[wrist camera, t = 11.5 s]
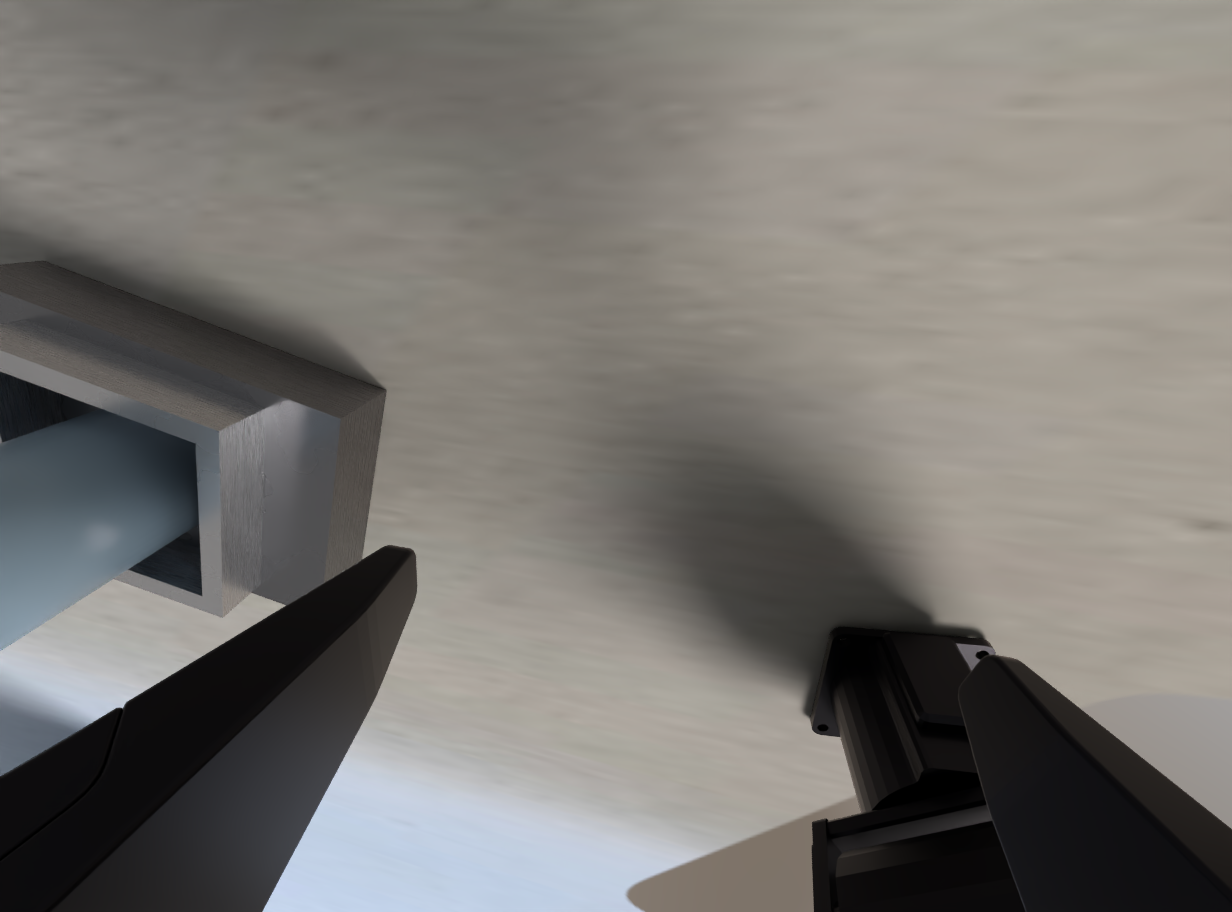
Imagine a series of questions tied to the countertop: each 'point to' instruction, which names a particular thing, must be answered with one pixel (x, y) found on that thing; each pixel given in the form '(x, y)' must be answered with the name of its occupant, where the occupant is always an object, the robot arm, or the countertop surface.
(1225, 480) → the countertop surface
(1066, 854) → the robot arm
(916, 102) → the countertop surface
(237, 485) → the gray rectangular open-top holder
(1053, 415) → the countertop surface
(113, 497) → the capped blue cylinder
